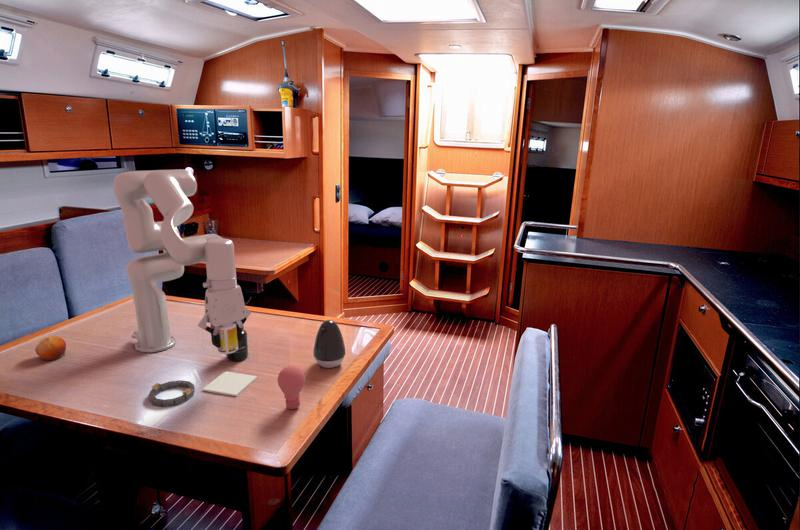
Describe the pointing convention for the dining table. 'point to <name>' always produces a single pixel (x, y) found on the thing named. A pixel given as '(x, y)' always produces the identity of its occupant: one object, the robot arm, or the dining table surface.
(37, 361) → the dining table surface
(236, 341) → the supplement bottle
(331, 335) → the pump dispenser
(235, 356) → the supplement bottle
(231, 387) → the coaster
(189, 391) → the collar
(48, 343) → the fruit
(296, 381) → the light bulb
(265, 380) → the dining table surface
